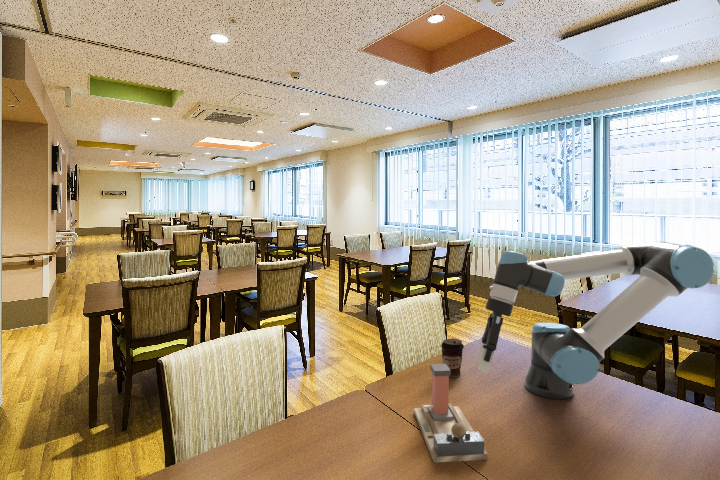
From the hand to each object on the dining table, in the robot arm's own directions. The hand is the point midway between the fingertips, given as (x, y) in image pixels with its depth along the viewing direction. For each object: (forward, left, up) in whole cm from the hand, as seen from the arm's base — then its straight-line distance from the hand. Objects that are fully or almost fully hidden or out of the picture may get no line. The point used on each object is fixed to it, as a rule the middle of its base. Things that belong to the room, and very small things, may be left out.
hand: (481, 367), depth 115 cm
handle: (+14, +1, -14) cm, 19 cm away
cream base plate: (+13, +8, -15) cm, 21 cm away
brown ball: (+13, +18, -10) cm, 24 cm away
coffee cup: (0, -28, -15) cm, 32 cm away
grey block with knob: (+13, +18, -14) cm, 26 cm away
